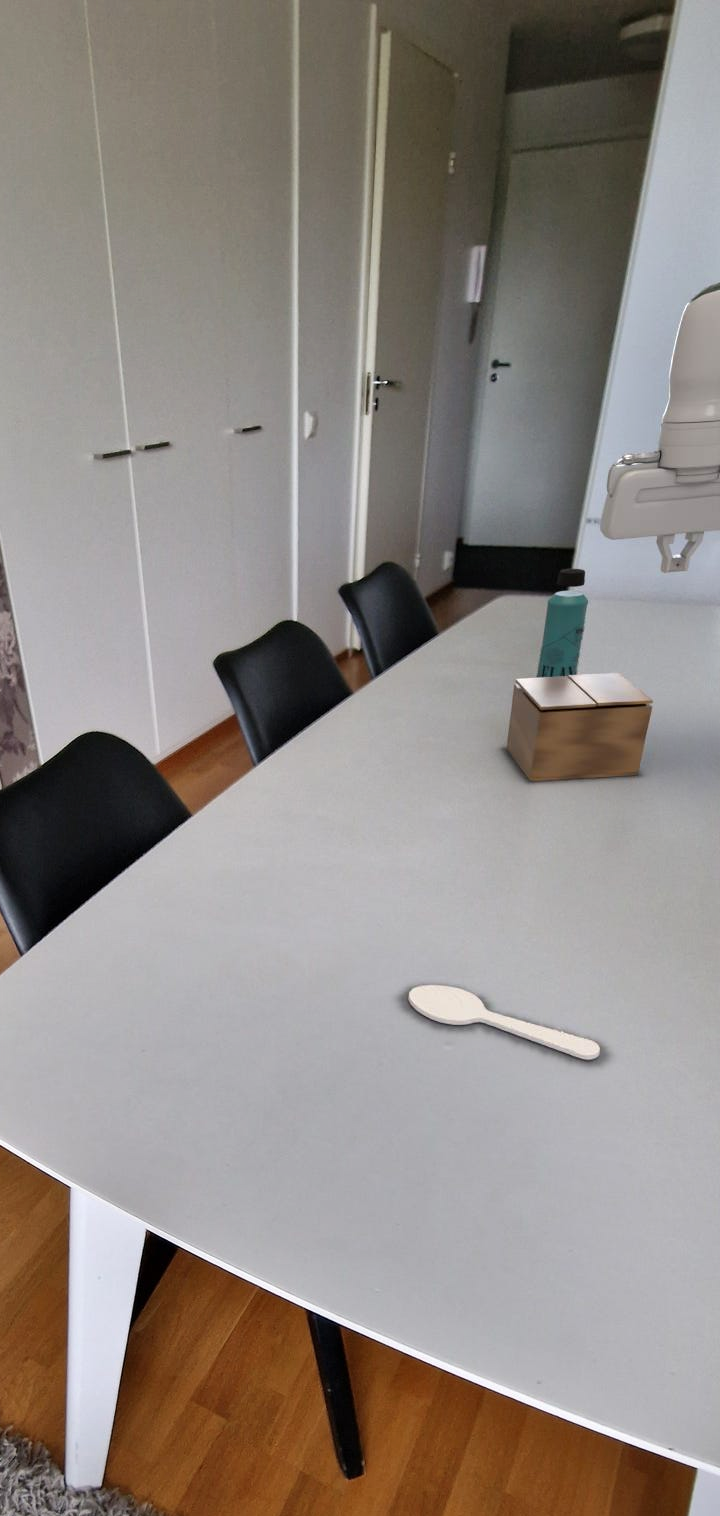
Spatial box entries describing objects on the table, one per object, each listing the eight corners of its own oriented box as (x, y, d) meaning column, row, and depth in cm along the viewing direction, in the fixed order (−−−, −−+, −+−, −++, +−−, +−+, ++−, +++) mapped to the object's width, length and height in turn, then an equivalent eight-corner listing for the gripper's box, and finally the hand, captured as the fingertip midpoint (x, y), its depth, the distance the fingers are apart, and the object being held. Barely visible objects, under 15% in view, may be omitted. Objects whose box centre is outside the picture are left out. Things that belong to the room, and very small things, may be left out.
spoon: (588, 1072, 78) (589, 1067, 77) (397, 1007, 87) (397, 1003, 86) (608, 1039, 81) (609, 1034, 81) (423, 980, 90) (423, 976, 90)
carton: (605, 743, 139) (619, 672, 133) (637, 775, 128) (653, 700, 122) (506, 748, 139) (514, 678, 133) (530, 781, 128) (540, 707, 122)
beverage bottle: (530, 703, 155) (548, 573, 143) (535, 691, 160) (553, 565, 148) (571, 706, 153) (592, 574, 141) (575, 694, 158) (596, 565, 146)
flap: (618, 675, 133) (618, 672, 133) (652, 703, 122) (653, 700, 122) (567, 677, 133) (567, 675, 133) (597, 705, 122) (598, 702, 122)
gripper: (620, 457, 110) (602, 583, 119) (792, 441, 110) (762, 568, 118) (601, 453, 116) (586, 574, 124) (766, 437, 115) (739, 559, 123)
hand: (673, 571), depth 121 cm, fingers closed
